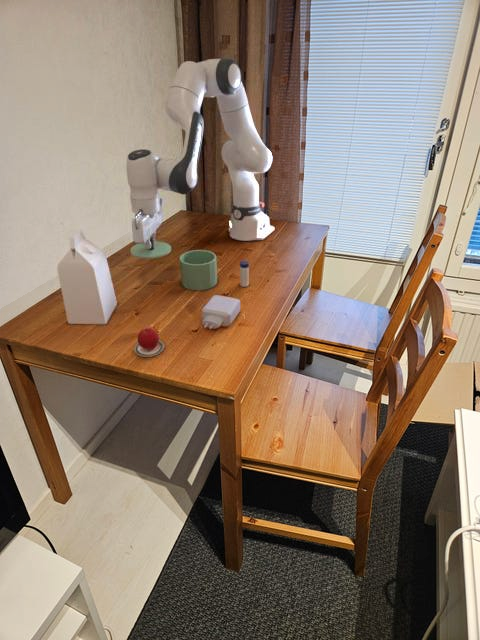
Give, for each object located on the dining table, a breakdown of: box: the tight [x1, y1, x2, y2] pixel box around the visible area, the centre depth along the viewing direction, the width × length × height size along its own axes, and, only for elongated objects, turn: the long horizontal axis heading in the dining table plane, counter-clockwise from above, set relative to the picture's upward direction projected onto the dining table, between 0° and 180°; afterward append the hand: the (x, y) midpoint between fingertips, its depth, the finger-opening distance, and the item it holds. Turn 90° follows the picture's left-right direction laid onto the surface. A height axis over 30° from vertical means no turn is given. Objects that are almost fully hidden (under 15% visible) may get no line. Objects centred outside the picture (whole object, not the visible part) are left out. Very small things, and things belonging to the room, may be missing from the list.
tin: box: [179, 249, 218, 291], centre depth 144 cm, size 13×13×10 cm
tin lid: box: [129, 238, 172, 260], centre depth 138 cm, size 14×14×5 cm
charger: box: [201, 294, 241, 330], centre depth 123 cm, size 5×9×15 cm
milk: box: [56, 230, 118, 325], centre depth 122 cm, size 12×12×26 cm
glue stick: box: [239, 260, 250, 288], centre depth 142 cm, size 3×3×8 cm
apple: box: [133, 327, 165, 358], centre depth 111 cm, size 8×8×6 cm
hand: (150, 245), depth 138 cm, fingers closed on tin lid, 2 cm apart
